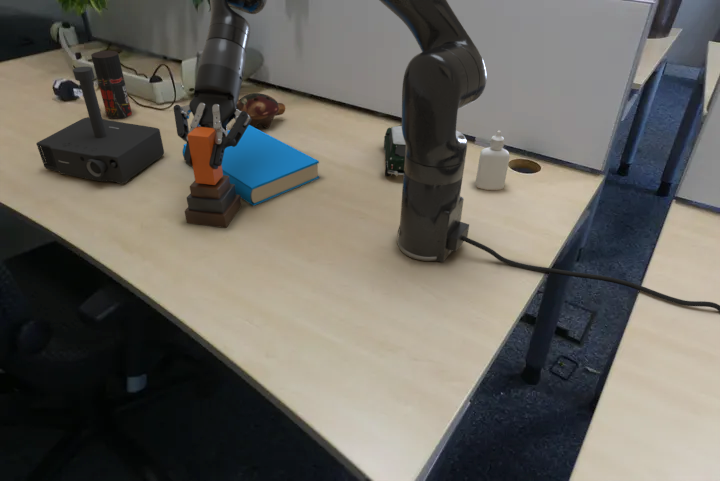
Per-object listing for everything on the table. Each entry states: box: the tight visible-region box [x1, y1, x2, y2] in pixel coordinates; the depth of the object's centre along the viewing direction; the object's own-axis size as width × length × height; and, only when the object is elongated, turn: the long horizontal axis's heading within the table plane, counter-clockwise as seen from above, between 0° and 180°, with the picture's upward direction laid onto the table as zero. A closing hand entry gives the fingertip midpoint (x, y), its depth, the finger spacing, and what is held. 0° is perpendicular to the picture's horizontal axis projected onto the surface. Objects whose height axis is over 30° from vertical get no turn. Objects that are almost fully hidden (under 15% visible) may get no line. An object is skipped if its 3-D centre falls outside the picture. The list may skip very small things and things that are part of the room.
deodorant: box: [90, 50, 133, 120], centre depth 134 cm, size 6×6×15 cm
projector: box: [36, 66, 165, 184], centre depth 110 cm, size 19×17×20 cm
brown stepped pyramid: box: [184, 175, 242, 229], centre depth 98 cm, size 8×8×7 cm
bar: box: [187, 127, 223, 185], centre depth 94 cm, size 4×4×9 cm
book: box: [182, 125, 320, 207], centre depth 114 cm, size 17×4×25 cm
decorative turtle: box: [233, 92, 286, 129], centre depth 132 cm, size 10×15×8 cm, turn 130°
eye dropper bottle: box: [475, 130, 511, 191], centre depth 108 cm, size 4×6×12 cm
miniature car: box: [383, 124, 406, 177], centre depth 117 cm, size 9×18×8 cm, turn 179°
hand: (201, 165), depth 92 cm, fingers closed on bar, 3 cm apart
